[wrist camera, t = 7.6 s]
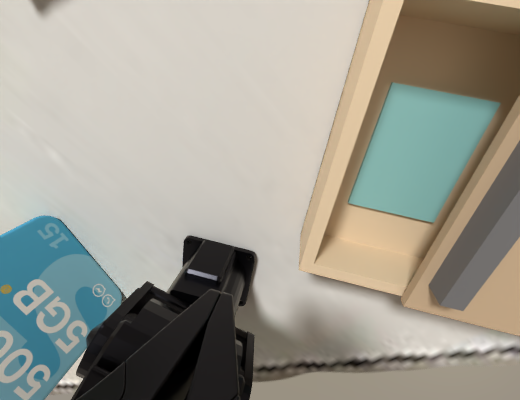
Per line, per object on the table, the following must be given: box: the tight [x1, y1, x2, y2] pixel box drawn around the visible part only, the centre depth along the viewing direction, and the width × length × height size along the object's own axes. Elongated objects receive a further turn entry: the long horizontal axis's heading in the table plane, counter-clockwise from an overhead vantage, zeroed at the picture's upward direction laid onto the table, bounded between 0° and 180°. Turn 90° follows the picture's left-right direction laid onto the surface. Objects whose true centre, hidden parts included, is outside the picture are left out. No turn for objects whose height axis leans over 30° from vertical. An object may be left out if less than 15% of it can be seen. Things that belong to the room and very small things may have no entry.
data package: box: [0, 216, 122, 400], centre depth 22 cm, size 12×4×12 cm, turn 27°
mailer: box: [299, 0, 520, 296], centre depth 15 cm, size 16×13×4 cm
